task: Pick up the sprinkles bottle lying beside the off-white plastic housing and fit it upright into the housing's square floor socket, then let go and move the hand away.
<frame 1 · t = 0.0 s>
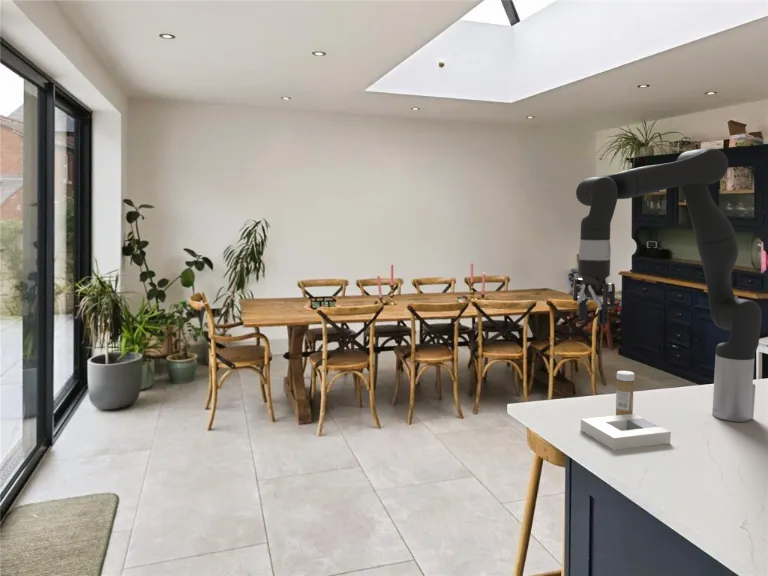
hand: (592, 321, 151), 29 cm above the counter, tool pointing down, fingers open, 8 cm apart
sprinkles bottle: (623, 420, 164), on the counter
housing: (623, 436, 151), on the counter
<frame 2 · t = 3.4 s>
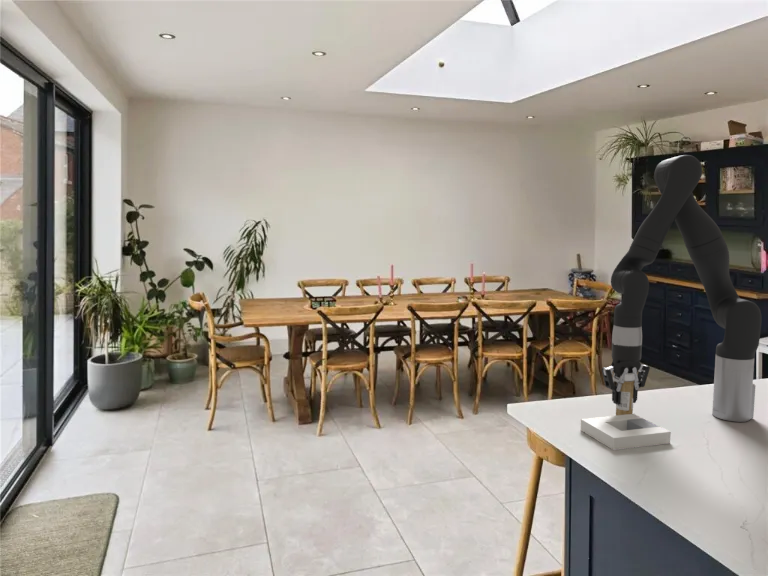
hand: (624, 402, 163), 5 cm above the counter, tool pointing down, fingers closed on sprinkles bottle, 4 cm apart
sprinkles bottle: (623, 420, 164), on the counter, touching gripper
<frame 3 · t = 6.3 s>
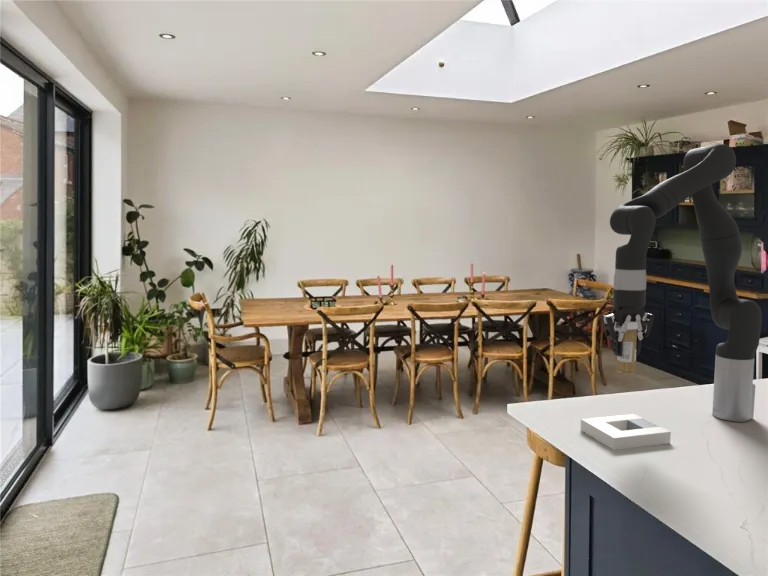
hand: (626, 354, 149), 21 cm above the counter, tool pointing down, fingers closed on sprinkles bottle, 4 cm apart
sprinkles bottle: (625, 373, 150), point 16 cm above the counter, touching gripper
when the fingers open (6 cm above the counter, at t = 8.9 s): sprinkles bottle drops 1 cm, resting in housing.
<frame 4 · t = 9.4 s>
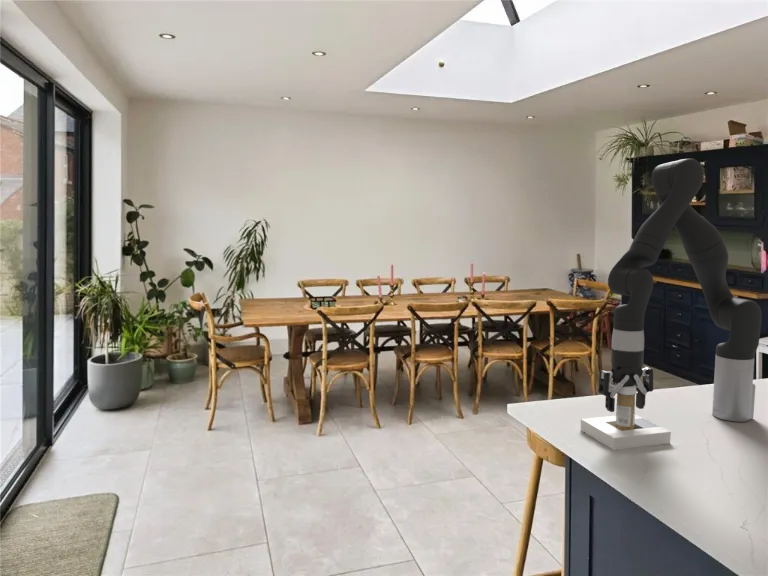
hand: (625, 409, 150), 7 cm above the counter, tool pointing down, fingers open, 8 cm apart
sprinkles bottle: (624, 437, 151), resting in housing
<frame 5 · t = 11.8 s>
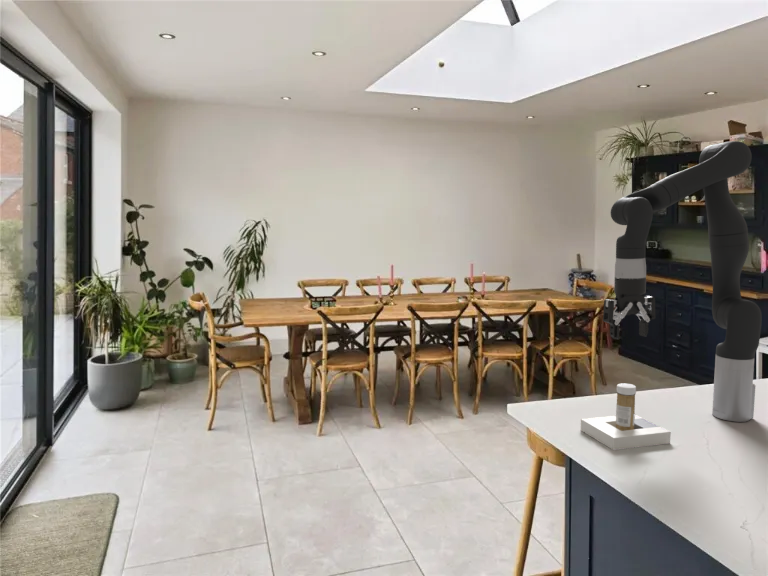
hand: (629, 337, 155), 24 cm above the counter, tool pointing down, fingers open, 8 cm apart
nothing on the counter moved.
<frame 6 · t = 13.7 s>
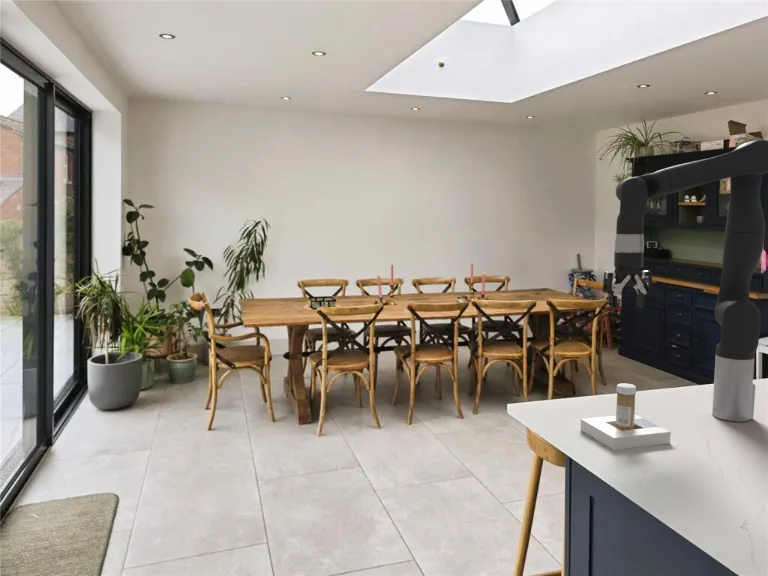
hand: (626, 308, 167), 30 cm above the counter, tool pointing down, fingers open, 8 cm apart
nothing on the counter moved.
at the end: sprinkles bottle 0.2 cm off-centre on the housing, point 0.0 cm above the housing's base; sprinkles bottle tilted 0°; the gripper is holding nothing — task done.
